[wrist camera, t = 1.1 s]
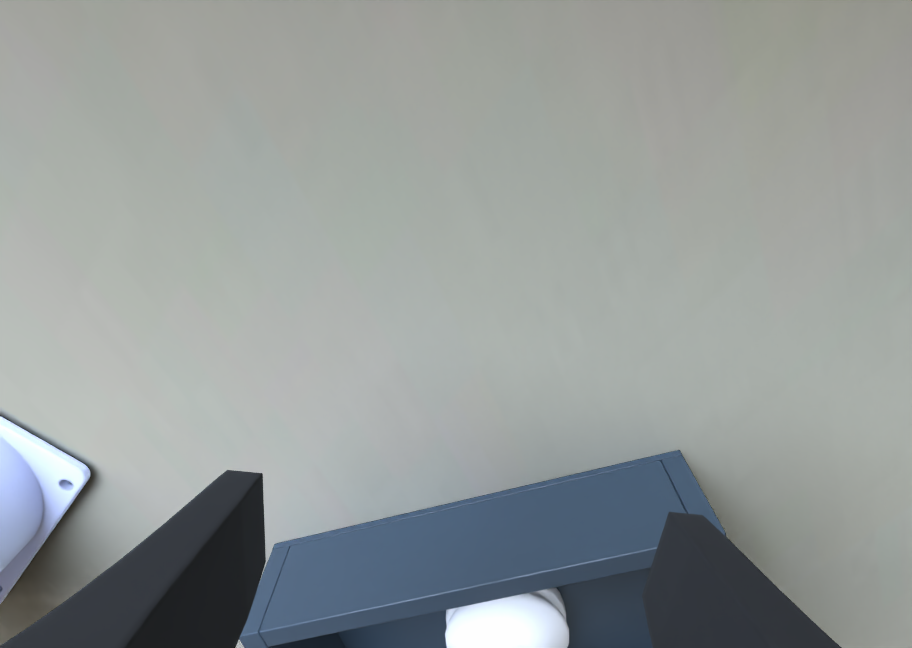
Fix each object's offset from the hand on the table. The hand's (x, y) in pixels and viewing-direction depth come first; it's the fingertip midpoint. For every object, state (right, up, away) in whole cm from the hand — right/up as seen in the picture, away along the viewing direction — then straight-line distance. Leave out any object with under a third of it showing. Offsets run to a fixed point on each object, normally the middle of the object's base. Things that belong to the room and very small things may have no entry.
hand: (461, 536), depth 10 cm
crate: (+2, -10, +15) cm, 18 cm away
